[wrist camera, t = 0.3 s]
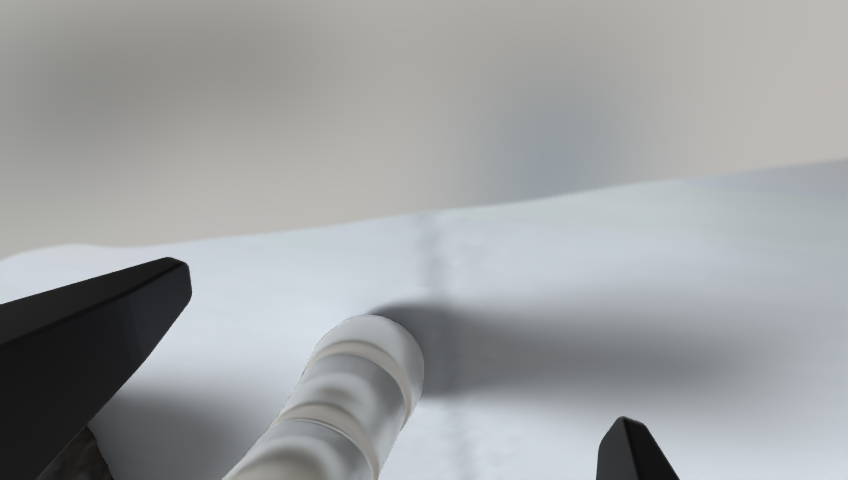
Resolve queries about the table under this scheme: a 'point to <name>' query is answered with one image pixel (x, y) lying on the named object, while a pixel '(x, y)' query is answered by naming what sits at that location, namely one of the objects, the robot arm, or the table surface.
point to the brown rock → (78, 461)
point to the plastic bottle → (342, 407)
